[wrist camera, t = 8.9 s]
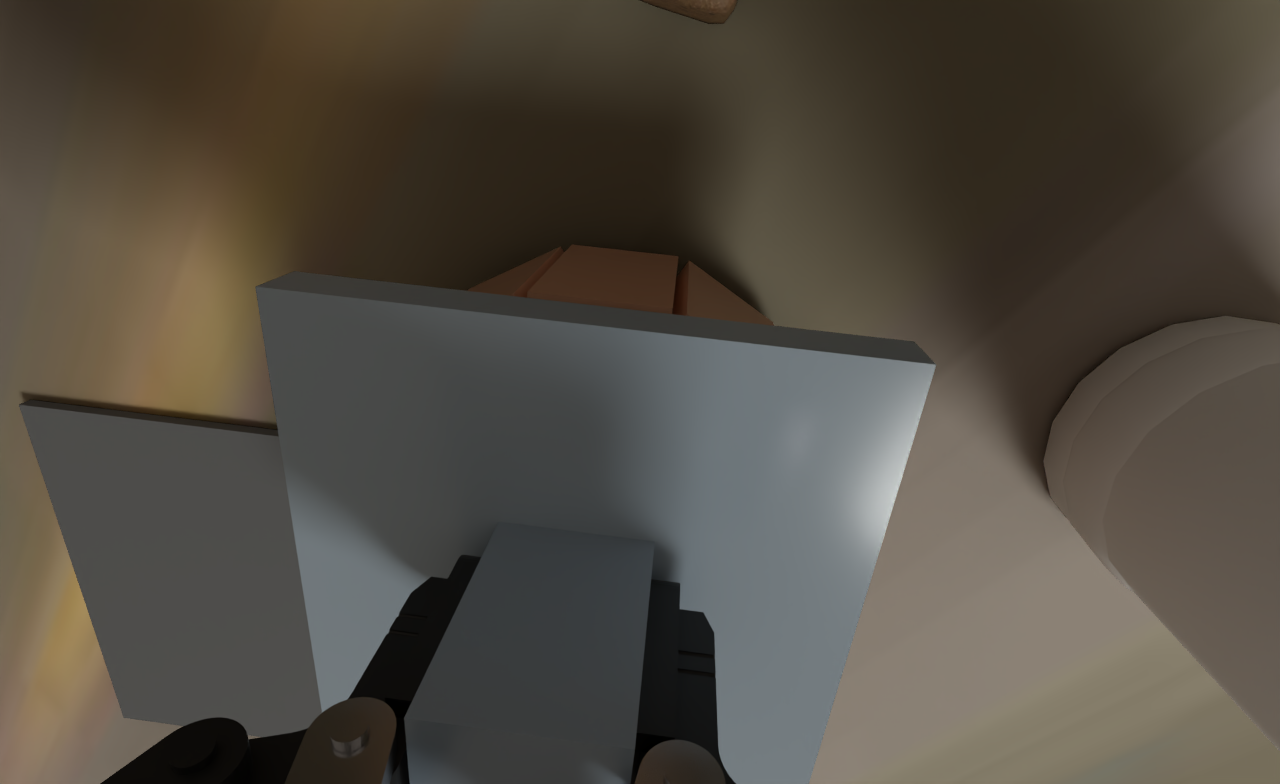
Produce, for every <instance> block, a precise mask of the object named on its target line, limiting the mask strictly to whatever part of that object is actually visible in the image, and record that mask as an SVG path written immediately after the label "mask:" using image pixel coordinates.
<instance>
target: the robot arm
mask: <svg viewBox="0 0 1280 784" xmlns="http://www.w3.org/2000/svg"><path fill="white" fill-rule="evenodd" d="M480 559H481V557H478V556H470V555H461V556H460V557H459V558H458V560H457V562H456V564H455V566H454V568H453V570H452V571H451V573H450V575H449V577H448V579H446V578H439V577H430V578H429V579H428V580H426V581H425V582H424V583H423V584H421V585H420V586H419V587H418V588H416V589H415V590H414V591H413V592H411V594H410V595H409V597H408V599H407V600H406V602H405V604H404V605H403V607H402V609H401V610H400V612H399V616H398V617H396V619H395V621H394V622H393V624H392V626H391V627H390V629H389V633H388V634H386V636H385V638H384V639H383V641H382V643H381V644H380V646H379V648H378V649H377V651H376V653H375V655H374V656H373V658H372V660H371V661H370V663H369V665H368V666H367V668H366V670H365V671H364V673H363V675H362V677H361V678H360V680H359V682H358V683H357V685H356V687H355V688H354V690H353V692H352V693H351V695H350V697H349V698H348V699H347V700H344V701H342V702H339V703H337V704H335V705H333V706H331V707H330V708H328V709H326V710H325V711H324V712H322V713H321V714H320V715H319V716H318V717H317V718H316V719H315V720H314V721H313V722H312V723H311V725H310V726H309V728H307V729H304V730H301V731H297V732H292V733H286V734H280V735H274V736H268V737H261V738H255V739H249V740H248V735H247V732H246V730H245V728H244V727H243V726H242V725H241V724H240V723H239V722H237V721H235V720H233V719H229V718H222V717H216V718H207V719H202V720H199V721H195V722H193V723H190V724H188V725H185V726H183V727H181V728H179V729H177V730H176V731H174V732H173V733H171V734H170V735H168V736H167V737H165V738H164V739H162V740H161V741H160V742H158V743H157V744H155V745H154V746H153V747H151V748H150V749H148V750H147V751H145V752H144V753H143V754H141V755H140V756H138V757H137V758H136V759H134V760H133V761H131V762H130V763H129V764H127V765H126V766H124V767H123V768H122V769H120V770H119V771H117V772H116V773H115V774H113V775H112V776H110V777H109V778H108V779H106V780H105V781H103V782H102V783H101V784H410V783H409V770H408V758H407V746H406V734H405V722H404V717H405V715H406V713H407V711H408V709H409V707H410V705H411V703H412V701H413V698H414V696H415V694H416V692H417V690H418V688H419V686H420V684H421V682H422V680H423V678H424V676H425V674H426V671H427V669H428V667H429V665H430V663H431V661H432V659H433V657H434V655H435V653H436V651H437V649H438V646H439V644H440V642H441V640H442V638H443V636H444V634H445V632H446V630H447V628H448V626H449V624H450V622H451V619H452V617H453V615H454V613H455V611H456V609H457V607H458V605H459V603H460V601H461V599H462V597H463V595H464V592H465V590H466V588H467V586H468V584H469V582H470V580H471V578H472V576H473V574H474V572H475V570H476V567H477V565H478V563H479V561H480ZM715 675H716V667H715V639H714V631H713V629H712V628H711V626H710V624H709V622H708V620H707V618H706V616H705V614H704V613H703V612H698V611H690V610H683V609H680V583H678V582H670V581H662V580H655V579H651V586H650V596H649V607H648V617H647V628H646V638H645V649H644V659H643V670H642V680H641V691H640V701H639V712H638V722H637V733H636V743H635V753H634V760H633V768H632V775H631V783H630V784H736V783H735V782H734V781H733V780H732V778H731V777H730V776H729V774H728V773H727V771H726V770H725V768H724V766H723V763H722V761H721V758H720V754H719V748H718V724H717V696H716V678H715Z"/></svg>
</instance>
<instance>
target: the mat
mask: <svg viewBox="0 0 1280 784" xmlns="http://www.w3.org/2000/svg"><path fill="white" fill-rule="evenodd" d="M19 407H20V410H21V413H22V416H23V419H24V421H25V424H26V427H27V430H28V433H29V436H30V439H31V442H32V445H33V448H34V451H35V454H36V457H37V460H38V463H39V466H40V469H41V472H42V475H43V478H44V481H45V484H46V487H47V490H48V493H49V496H50V499H51V502H52V505H53V508H54V511H55V514H56V517H57V520H58V523H59V526H60V529H61V532H62V535H63V538H64V541H65V544H66V547H67V550H68V553H69V556H70V559H71V562H72V565H73V568H74V571H75V574H76V577H77V580H78V583H79V586H80V589H81V592H82V595H83V597H84V600H85V603H86V606H87V609H88V612H89V615H90V618H91V621H92V624H93V627H94V630H95V633H96V636H97V639H98V642H99V645H100V648H101V651H102V654H103V657H104V660H105V663H106V666H107V669H108V672H109V675H110V678H111V681H112V684H113V687H114V690H115V693H116V696H117V699H118V702H119V705H120V708H121V711H122V714H123V717H124V718H130V719H137V720H145V721H152V722H159V723H166V724H173V725H180V726H185V725H188V724H190V723H193V722H195V721H199V720H202V719H207V718H216V717H222V718H229V719H233V720H235V721H237V722H239V723H240V724H241V725H242V726H243V727H244V728H245V730H246V732H247V735H252V736H259V737H268V736H274V735H280V734H286V733H292V732H297V731H301V730H304V729H307V728H309V726H310V725H311V723H312V722H313V721H314V720H315V719H316V718H317V717H318V716H319V715H320V714H321V713H322V709H321V702H320V696H319V690H318V683H317V677H316V670H315V664H314V658H313V651H312V645H311V638H310V632H309V626H308V619H307V613H306V607H305V600H304V594H303V587H302V581H301V575H300V568H299V562H298V555H297V549H296V543H295V536H294V530H293V523H292V517H291V511H290V504H289V498H288V491H287V485H286V479H285V472H284V466H283V460H282V453H281V447H280V440H279V434H278V430H273V429H265V428H257V427H249V426H241V425H232V424H224V423H216V422H208V421H200V420H192V419H183V418H175V417H167V416H159V415H151V414H143V413H134V412H126V411H118V410H110V409H102V408H93V407H85V406H77V405H69V404H61V403H53V402H44V401H36V400H28V401H26V402H24V403H21V404H19Z"/></svg>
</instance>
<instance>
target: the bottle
mask: <svg viewBox="0 0 1280 784" xmlns="http://www.w3.org/2000/svg"><path fill="white" fill-rule="evenodd" d="M1043 463H1044V468H1045V473H1046V478H1047V483H1048V488H1049V493H1050V497H1051V498H1052V500H1053V501H1054V502H1055V504H1056V505H1057V506H1058V507H1059V509H1060V510H1061V511H1062V512H1063V514H1064V515H1065V516H1066V518H1067V519H1068V520H1069V521H1070V523H1071V524H1072V525H1073V527H1074V528H1075V529H1076V531H1077V532H1078V533H1079V534H1080V536H1081V537H1082V538H1083V539H1084V541H1085V542H1086V543H1087V545H1088V546H1089V547H1090V548H1091V550H1092V551H1093V552H1094V554H1095V555H1096V556H1097V557H1098V559H1099V560H1100V561H1101V562H1102V564H1103V565H1104V566H1105V567H1106V568H1107V569H1108V570H1109V571H1110V573H1111V574H1112V575H1113V576H1114V577H1115V578H1116V579H1117V580H1118V581H1119V582H1120V583H1121V584H1122V585H1123V586H1124V587H1125V588H1126V589H1128V590H1130V591H1132V592H1134V593H1135V594H1136V595H1137V596H1138V597H1139V598H1140V599H1141V600H1142V602H1143V603H1144V604H1145V605H1146V606H1147V607H1148V608H1149V609H1150V610H1151V611H1152V612H1153V614H1154V615H1155V616H1156V617H1157V618H1158V619H1159V620H1160V621H1161V622H1162V623H1163V624H1164V626H1165V627H1166V628H1167V629H1168V630H1169V631H1170V632H1171V633H1172V634H1173V635H1174V636H1175V638H1176V639H1177V640H1178V641H1179V642H1180V643H1181V644H1182V645H1183V646H1184V647H1185V648H1186V650H1187V651H1188V652H1189V653H1190V654H1191V655H1192V656H1193V657H1194V658H1195V659H1196V660H1197V662H1198V663H1199V664H1200V665H1201V666H1202V667H1203V668H1204V669H1205V670H1206V671H1207V672H1208V673H1209V675H1210V676H1211V677H1212V678H1213V679H1214V680H1215V681H1216V682H1217V683H1218V684H1219V685H1220V687H1221V688H1222V689H1223V690H1224V691H1225V692H1226V693H1227V694H1228V695H1229V696H1230V697H1231V699H1232V700H1233V701H1234V702H1235V703H1236V704H1237V705H1238V706H1239V707H1240V708H1241V709H1242V711H1243V712H1244V713H1245V714H1246V715H1247V716H1248V717H1249V718H1250V719H1251V720H1252V721H1253V723H1254V724H1255V725H1256V726H1257V727H1258V728H1259V729H1260V730H1261V731H1262V732H1263V733H1264V735H1265V736H1266V737H1267V738H1268V739H1269V740H1270V741H1271V742H1272V743H1273V744H1274V745H1275V747H1276V748H1277V749H1278V750H1279V751H1280V325H1279V324H1277V323H1271V322H1265V321H1258V320H1251V319H1245V318H1238V317H1231V316H1221V317H1215V318H1209V319H1203V320H1197V321H1191V322H1185V323H1179V324H1173V325H1170V326H1167V327H1165V328H1163V329H1161V330H1159V331H1157V332H1154V333H1152V334H1150V335H1148V336H1146V337H1144V338H1141V339H1139V340H1137V341H1135V342H1133V343H1131V344H1128V345H1126V346H1124V347H1122V348H1120V349H1119V350H1117V351H1116V352H1115V353H1114V354H1113V355H1111V356H1110V357H1109V358H1108V359H1107V360H1105V361H1104V362H1103V363H1102V364H1101V365H1099V366H1098V367H1097V368H1096V369H1095V370H1093V371H1092V372H1091V373H1090V374H1089V375H1087V376H1086V377H1085V378H1084V379H1082V380H1081V381H1080V382H1079V383H1078V385H1077V386H1076V388H1075V389H1074V391H1073V392H1072V394H1071V395H1070V397H1069V398H1068V400H1067V401H1066V403H1065V404H1064V406H1063V407H1062V409H1061V410H1060V412H1059V413H1058V415H1057V416H1056V418H1055V419H1054V421H1053V423H1052V427H1051V431H1050V435H1049V439H1048V443H1047V448H1046V452H1045V456H1044V460H1043Z"/></svg>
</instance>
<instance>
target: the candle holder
mask: <svg viewBox="0 0 1280 784" xmlns="http://www.w3.org/2000/svg"><path fill="white" fill-rule="evenodd" d="M640 1H643V2H645V3H648V4H650V5H653V6H656V7H659V8H662V9H665V10H668V11H671V12H674V13H677V14H680V15H683V16H686V17H690V18H693V19H696V20H699V21H702V22H705V23H708V24H722V23H725V21H726V20H727V19H728V17H729V16H730V14H731V13H732V12H733V10H734V9H735V6H736V4H737V1H738V0H640Z"/></svg>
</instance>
